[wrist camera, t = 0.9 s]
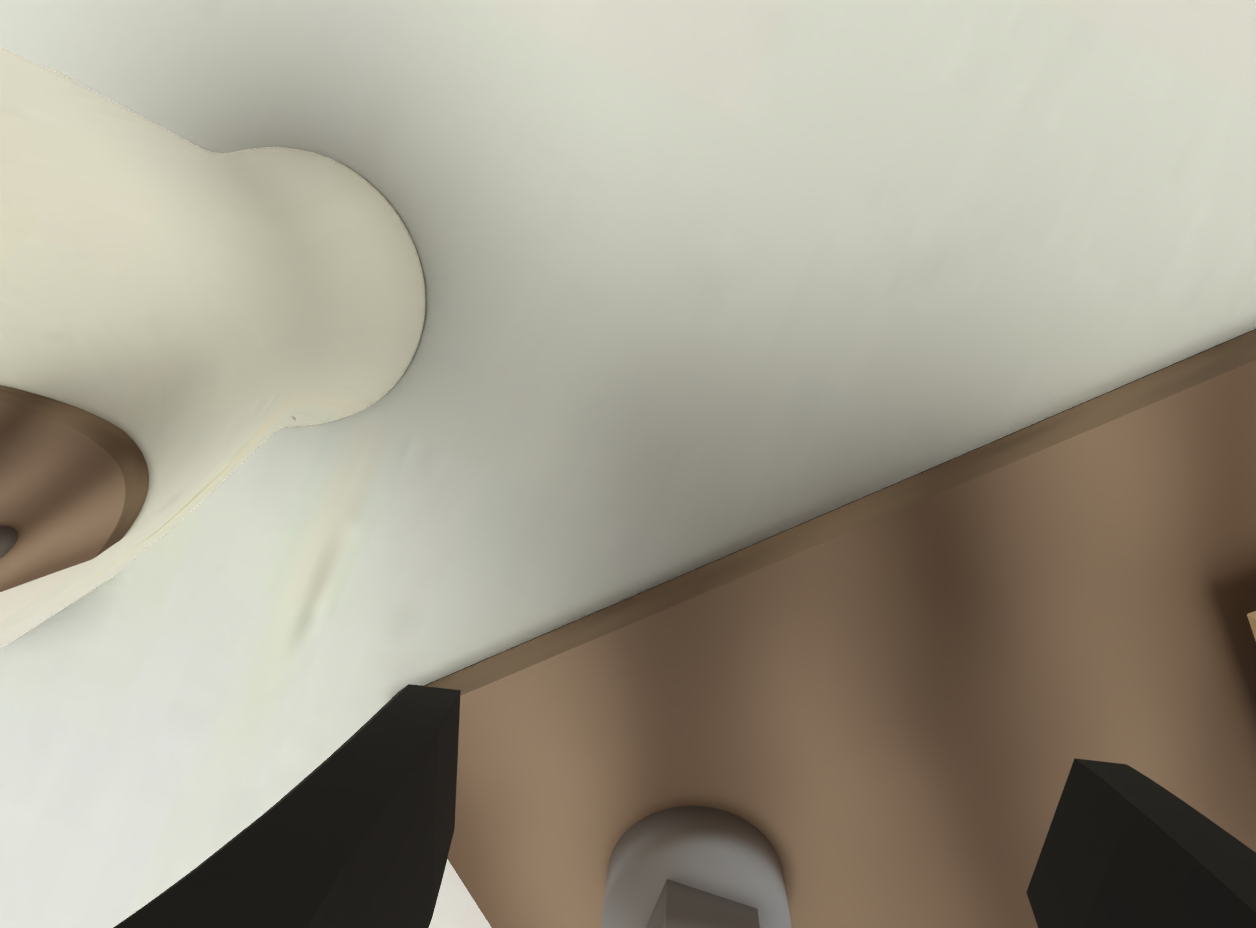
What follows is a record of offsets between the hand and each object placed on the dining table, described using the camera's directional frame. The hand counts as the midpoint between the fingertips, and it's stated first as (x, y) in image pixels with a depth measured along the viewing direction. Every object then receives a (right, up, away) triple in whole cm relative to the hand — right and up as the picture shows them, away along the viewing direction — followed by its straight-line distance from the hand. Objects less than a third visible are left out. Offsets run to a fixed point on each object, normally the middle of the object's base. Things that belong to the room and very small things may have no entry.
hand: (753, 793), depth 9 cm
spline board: (+7, -3, +11) cm, 13 cm away
